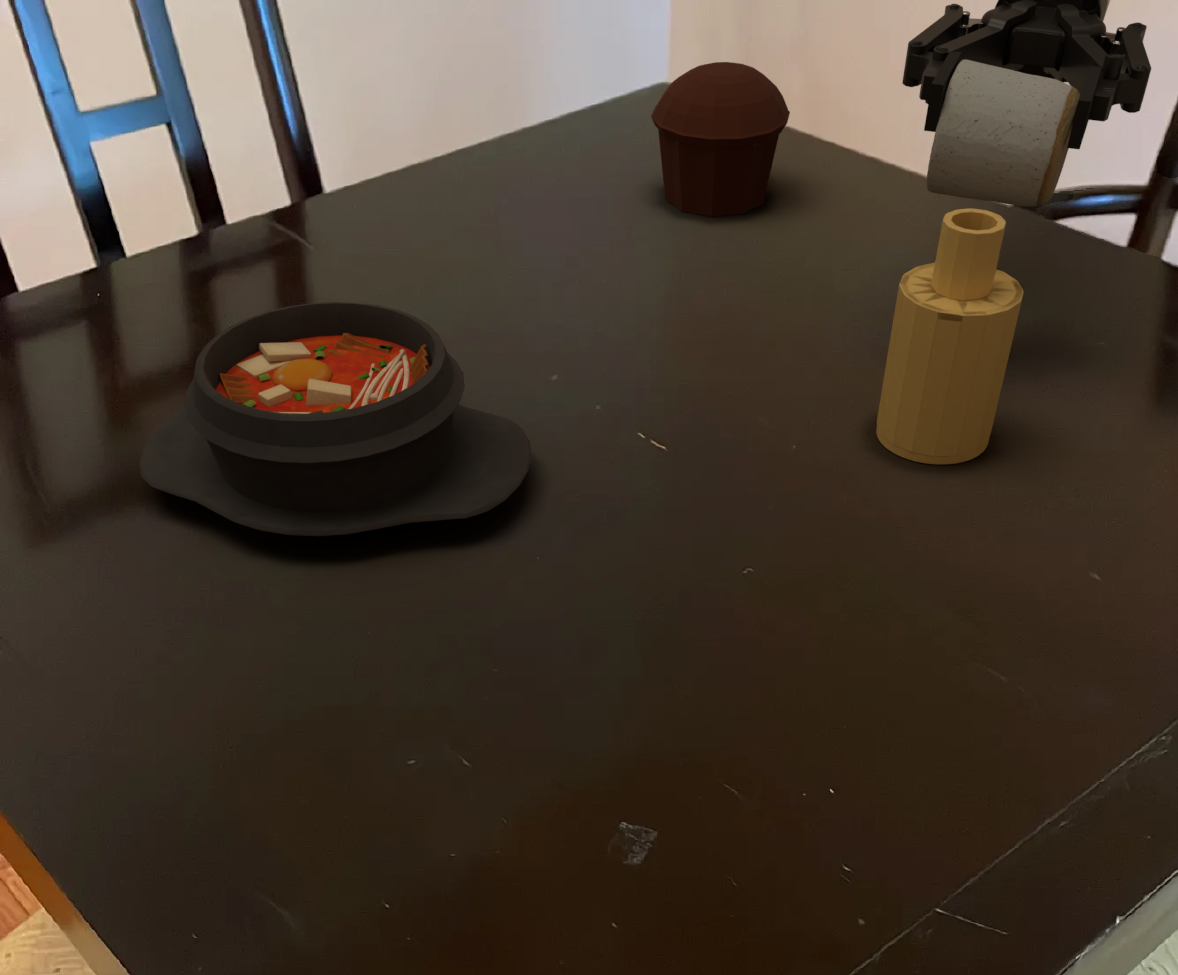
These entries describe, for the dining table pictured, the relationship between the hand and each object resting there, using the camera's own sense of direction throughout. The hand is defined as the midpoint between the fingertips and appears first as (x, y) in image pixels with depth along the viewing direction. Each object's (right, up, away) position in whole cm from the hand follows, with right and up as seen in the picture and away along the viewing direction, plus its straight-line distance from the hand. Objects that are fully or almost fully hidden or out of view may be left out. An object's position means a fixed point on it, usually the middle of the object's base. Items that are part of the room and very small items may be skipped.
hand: (1005, 116), depth 82 cm
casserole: (-42, -21, +4) cm, 47 cm away
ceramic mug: (+1, -1, +8) cm, 8 cm away
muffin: (-15, +12, +35) cm, 40 cm away
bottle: (-3, -17, +7) cm, 19 cm away
